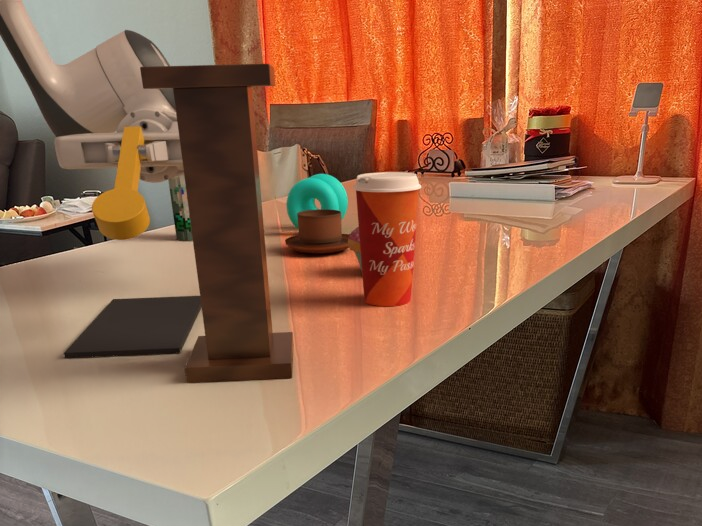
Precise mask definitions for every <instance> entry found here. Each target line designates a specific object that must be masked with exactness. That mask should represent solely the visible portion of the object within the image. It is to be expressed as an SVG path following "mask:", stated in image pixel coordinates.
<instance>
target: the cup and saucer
mask: <svg viewBox="0 0 702 526" xmlns="http://www.w3.org/2000/svg"><path fill="white" fill-rule="evenodd" d="M318 209H319V208H318ZM297 217H298V229H297V230H298V234H297V235H293V236H289V237H286V238H285V240H284V243H285V245H286V246H287V247H288V248H289V249H290V250H294V251H295V252H299V253H305V254H318V255H319V254H330V253H331V254H332V253H337V252H341V251H344V250H347V249H350V248H349V246H348V239H349V236H350V235H349V234H348V233H342V232H343V231H342V229H343V228H342V220H341V211H338V210H328V209H321V208H320V209H319V210H307V211H301V212H298V213H297Z"/></svg>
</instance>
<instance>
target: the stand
mask: <svg viewBox="0 0 702 526" xmlns="http://www.w3.org/2000/svg"><path fill="white" fill-rule="evenodd" d="M140 71H141V78H142V85H143V88H144V89H173V93H174V100H175V108H176V116H177V123H178V131H179V139H180V146H181V154H182V161H183V169H184V177H185V184H186V192H187V200H188V207H189V215H190V222H191V230H192V238H193V241H192V244H193V251H194V252H193V253H194V261H195V267H196V274H197V283H198V291H199V296H200V299H201V306H202V307H201V312H202V321H203V328H204V335H198V336H197V338H196V341H195V343H194V345H193V348H192V349H191V352H190V354H189V357H188V359H187V362H186V364H185V366H184V373H185V381H186V383H188V384H190V383H191V384H192V383H193V384H194V383H211V382H214V383H215V382H234V381H253V380H254V381H255V380H274V379H275V380H277V379H292V378H293V368H294V365H293V364H294V332H293V331H285V332H284V331H283V332H281V331H279V332H274V331H273V323H272V322H273V321H272V320H273V319H272V309H271V297H270V285H269V273H268V272H269V271H268V262H267V250H266V237H265V225H264V215H263V213H264V211H263V202H262V190H261V177H260V167H259V166H260V165H259V155H258V142H257V130H256V129H257V128H256V118H255V107H254V96H253V88H256V87H257V88H260V87H276V77H275V67H274V66H273V65H271V64H270V63H238V64H237V63H236V64H235V63H233V64H199V65H195V64H194V65H170V66H151V67H140Z"/></svg>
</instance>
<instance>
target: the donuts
mask: <svg viewBox="0 0 702 526" xmlns="http://www.w3.org/2000/svg"><path fill="white" fill-rule="evenodd" d="M348 199H349V198H348V194H347V190H346V189H345V187H344V185H343V184H342V182H341V181H340V180H338V178H337V177H335V176H333V175H330V174H328V173H317V174H313V175H311V176H309V177H306V178H303V179H301V180H299V181H298V182H296V183H294V185H293V186H292V187H291V188H290V190H289V192H288V194H287V198H286V211H287V215H288V218H289V221H290V222H291V224H292V225H293V226H294V227H295V228H296V229H297V230H298V217H297V213H298V212H301V211H307V210H319V208H318V207H317V205H316V201H315V200H317V202H319V205H320V209H328V210H338V211H341V221H342V220H343V219H344V218H345V216H346V214H347V211H348V206H349V200H348Z"/></svg>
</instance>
